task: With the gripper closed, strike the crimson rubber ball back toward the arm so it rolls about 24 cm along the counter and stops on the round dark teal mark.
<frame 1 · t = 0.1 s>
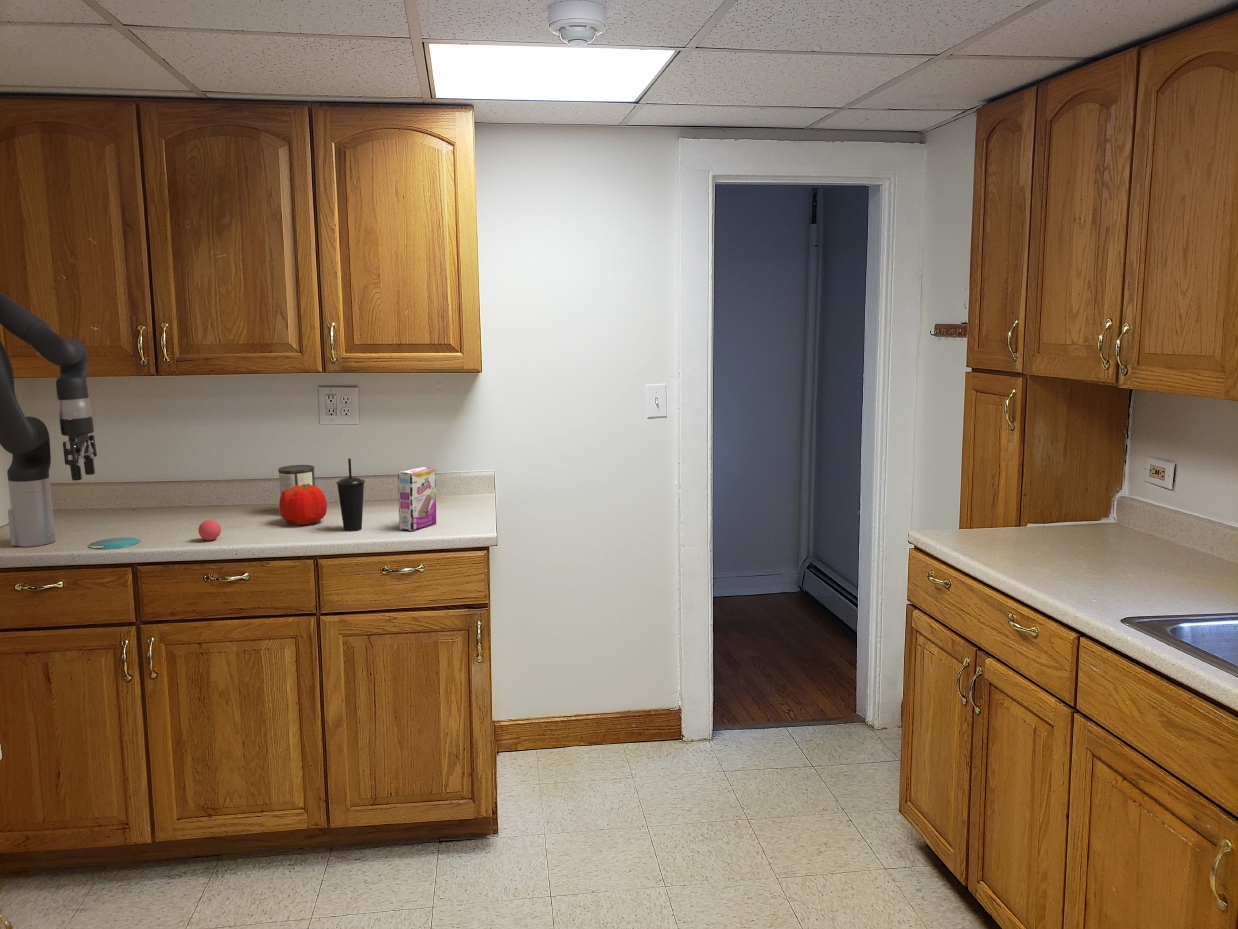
hand: (83, 477, 250), 17 cm above the table, tool pointing down, fingers open, 8 cm apart
drinking cup: (353, 530, 265), on the table
coffee can: (299, 514, 286), on the table
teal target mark: (114, 543, 249), on the table
ball: (209, 530, 252), on the table
tomato: (304, 523, 273), on the table
candy bar box: (418, 527, 267), on the table
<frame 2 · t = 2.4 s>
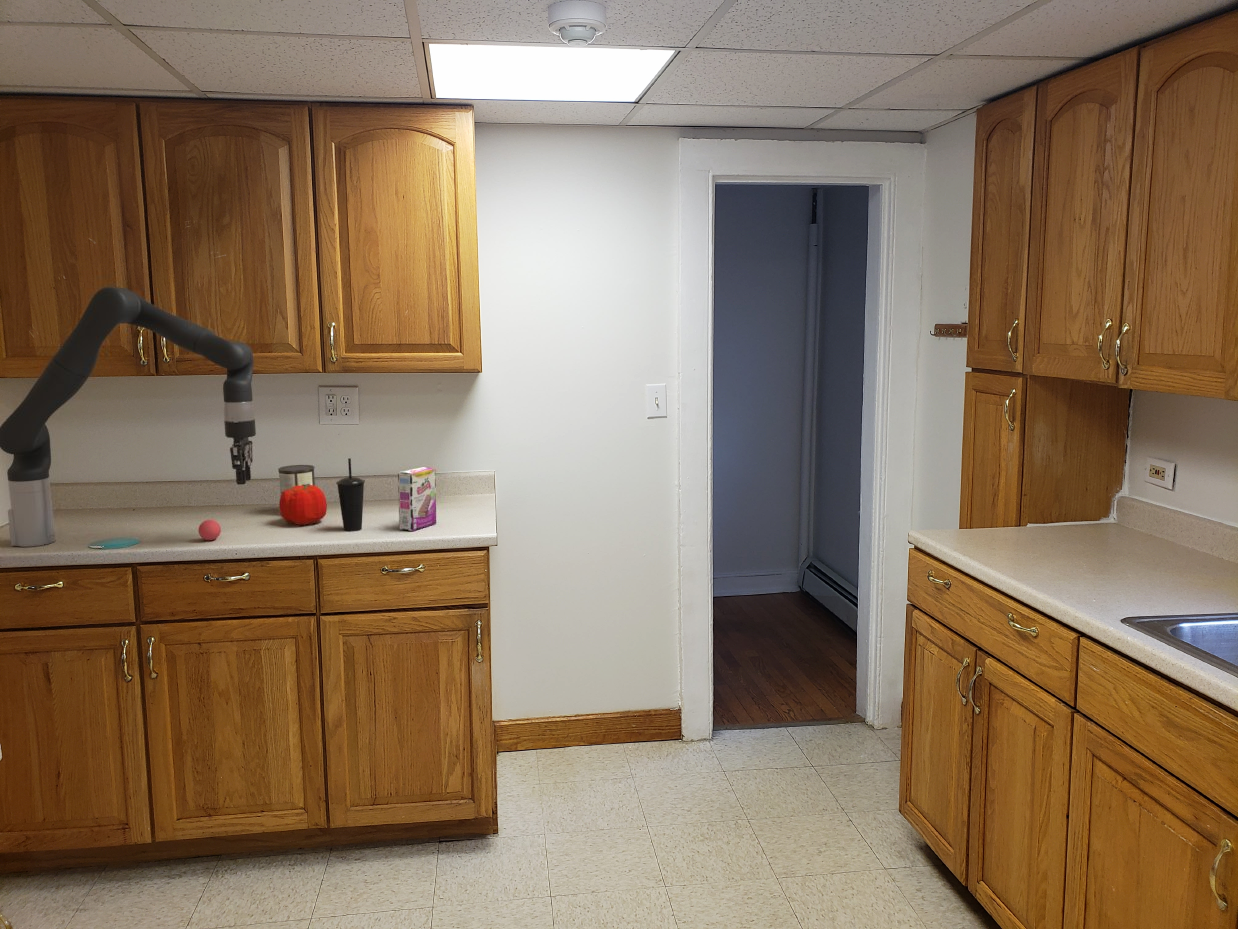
hand: (243, 482, 252), 15 cm above the table, tool pointing down, fingers open, 5 cm apart
nothing on the table moved.
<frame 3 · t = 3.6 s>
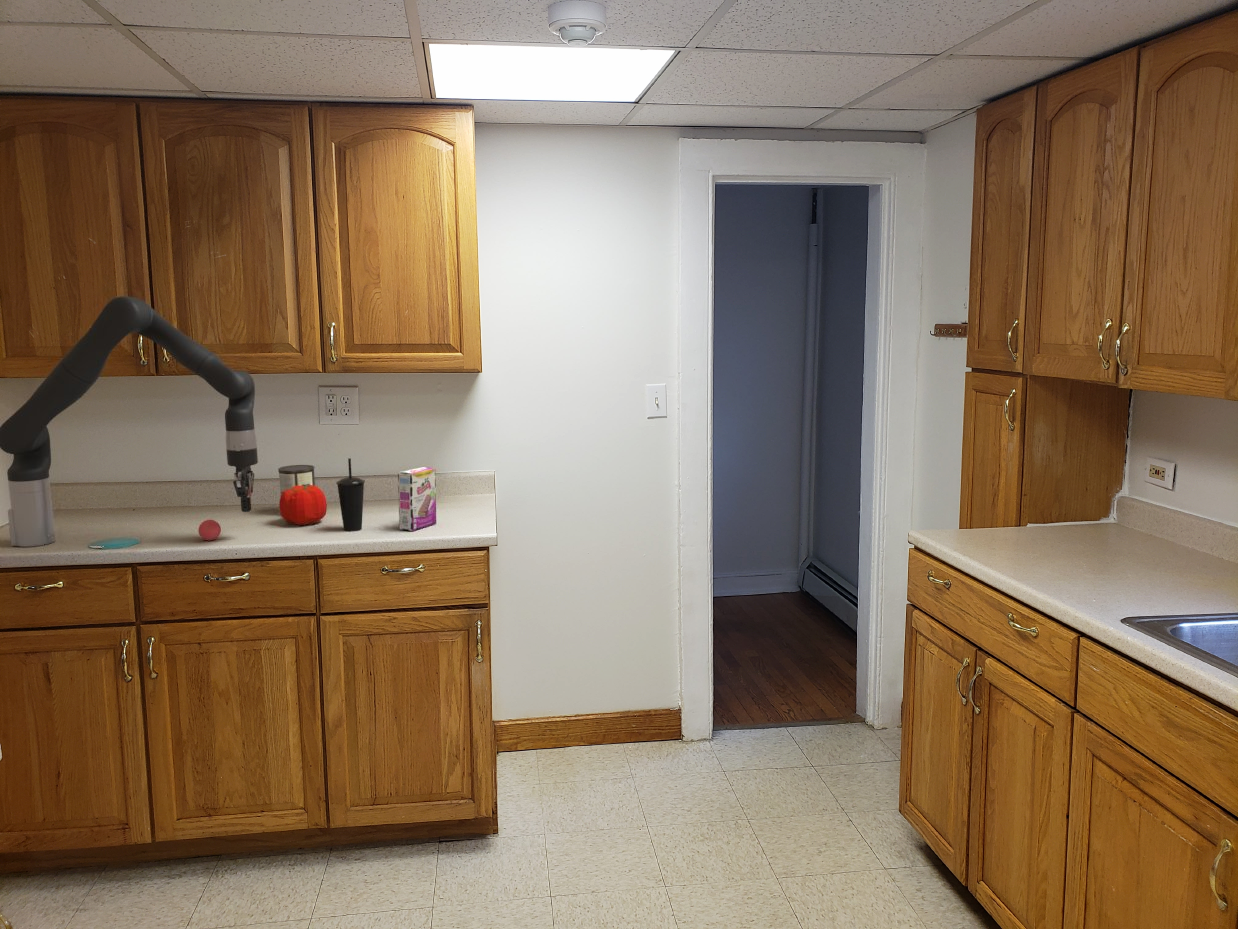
hand: (246, 511, 253), 8 cm above the table, tool pointing down, fingers closed
nothing on the table moved.
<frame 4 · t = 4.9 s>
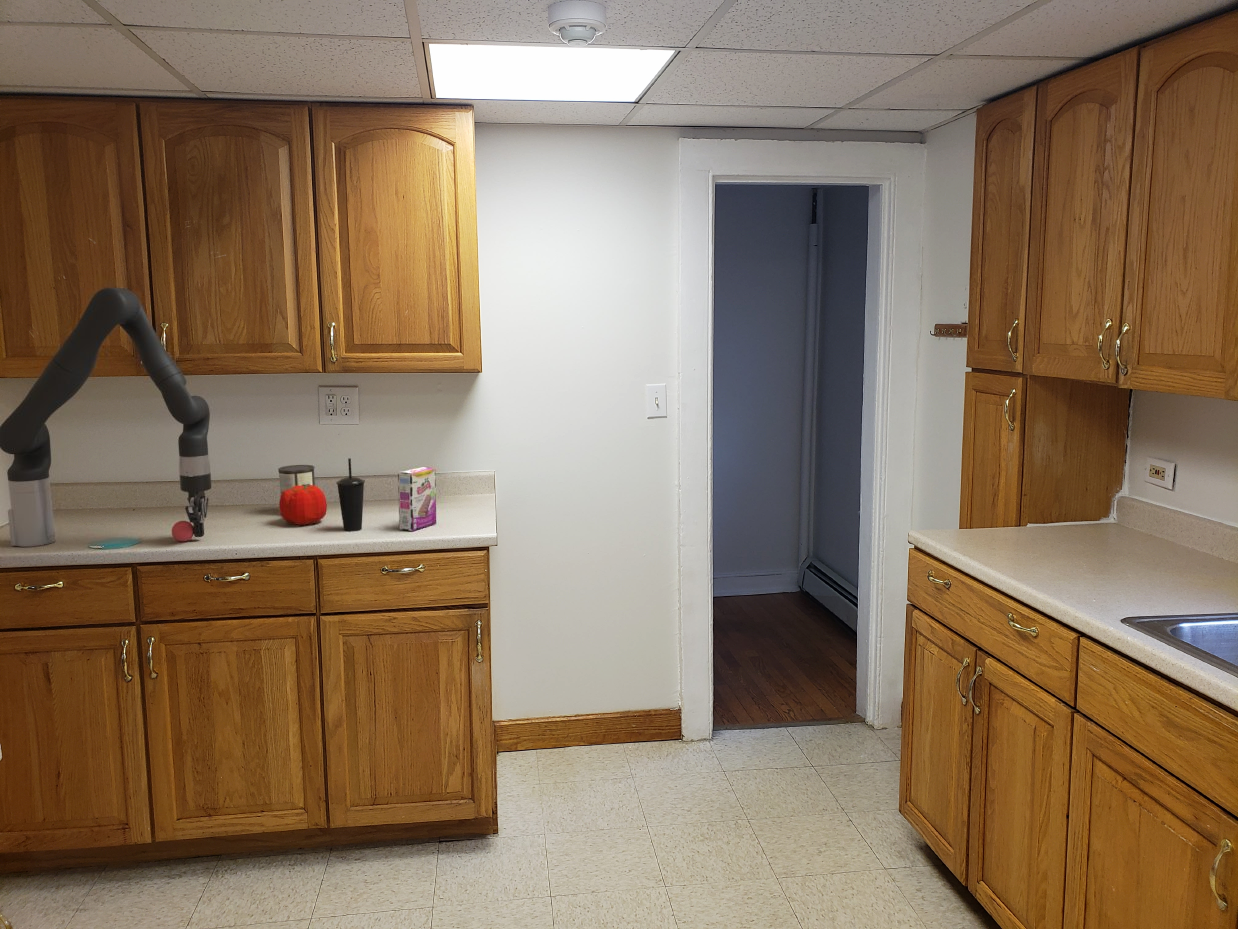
hand: (199, 536, 252), 1 cm above the table, tool pointing down, fingers closed
ball: (183, 531, 251), on the table
everything else where it was.
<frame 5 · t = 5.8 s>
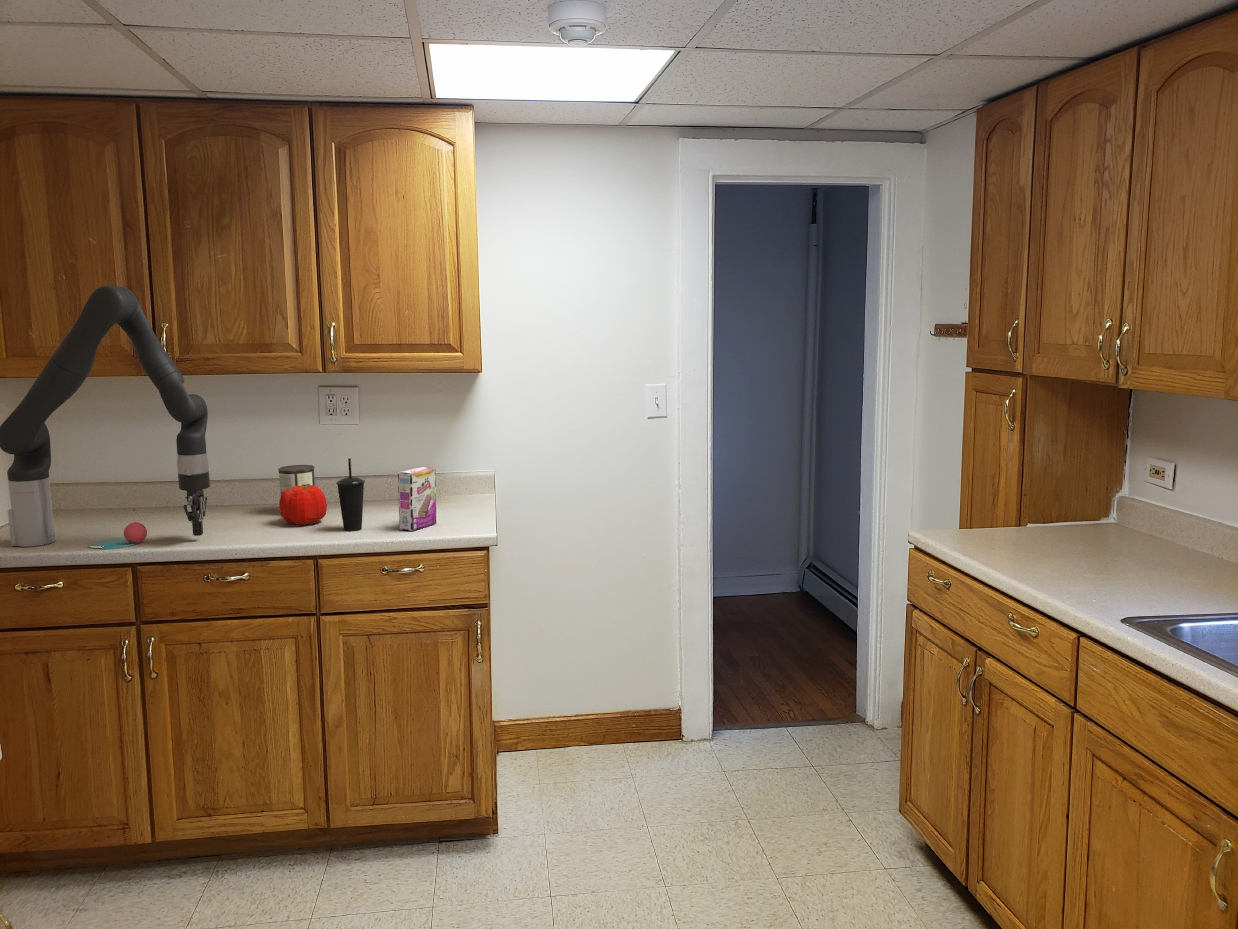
hand: (198, 535, 252), 2 cm above the table, tool pointing down, fingers closed
ball: (135, 532, 249), on the table
everything else where it was.
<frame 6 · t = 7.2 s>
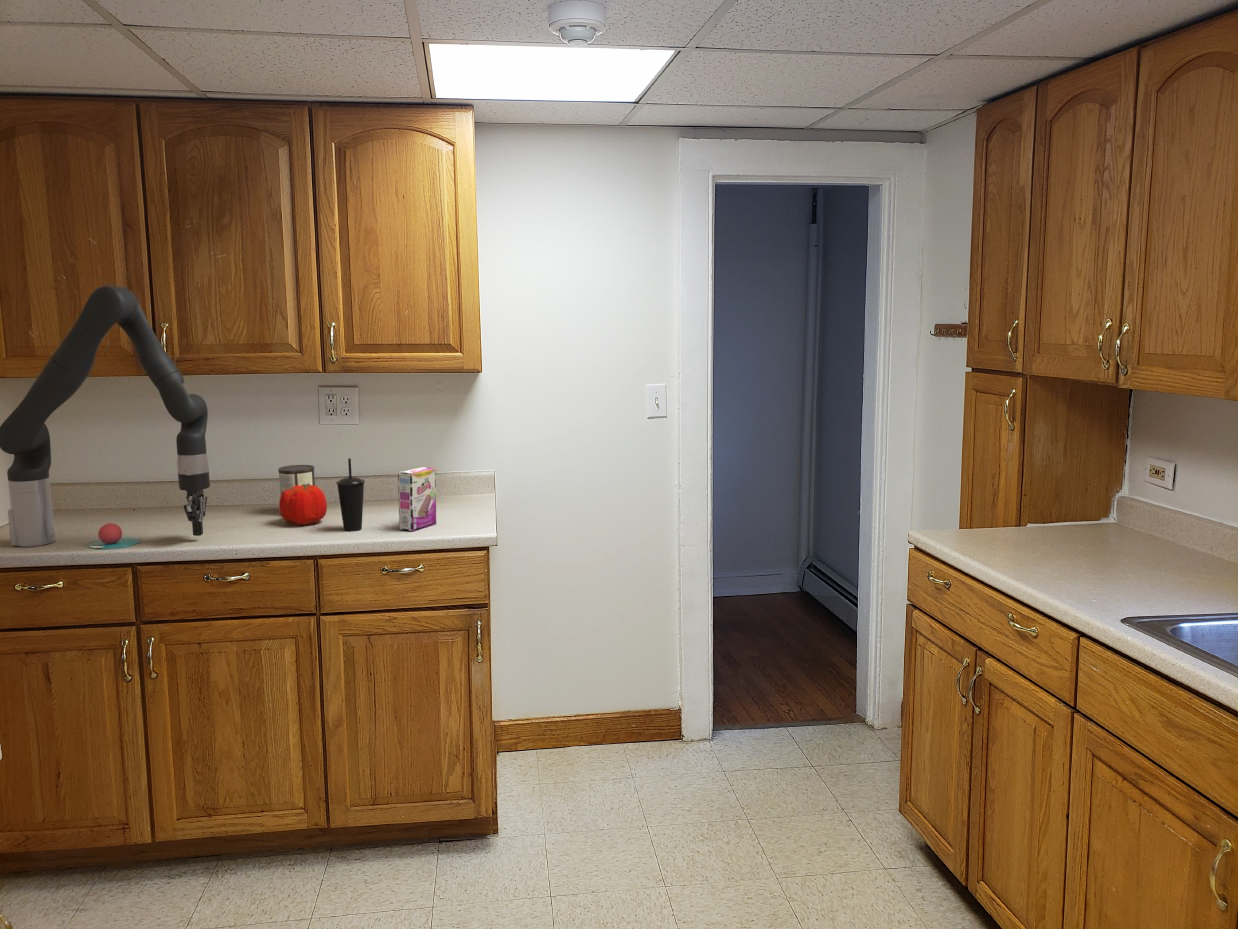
hand: (198, 535, 252), 2 cm above the table, tool pointing down, fingers closed
ball: (110, 533, 248), on the table
everything else where it was.
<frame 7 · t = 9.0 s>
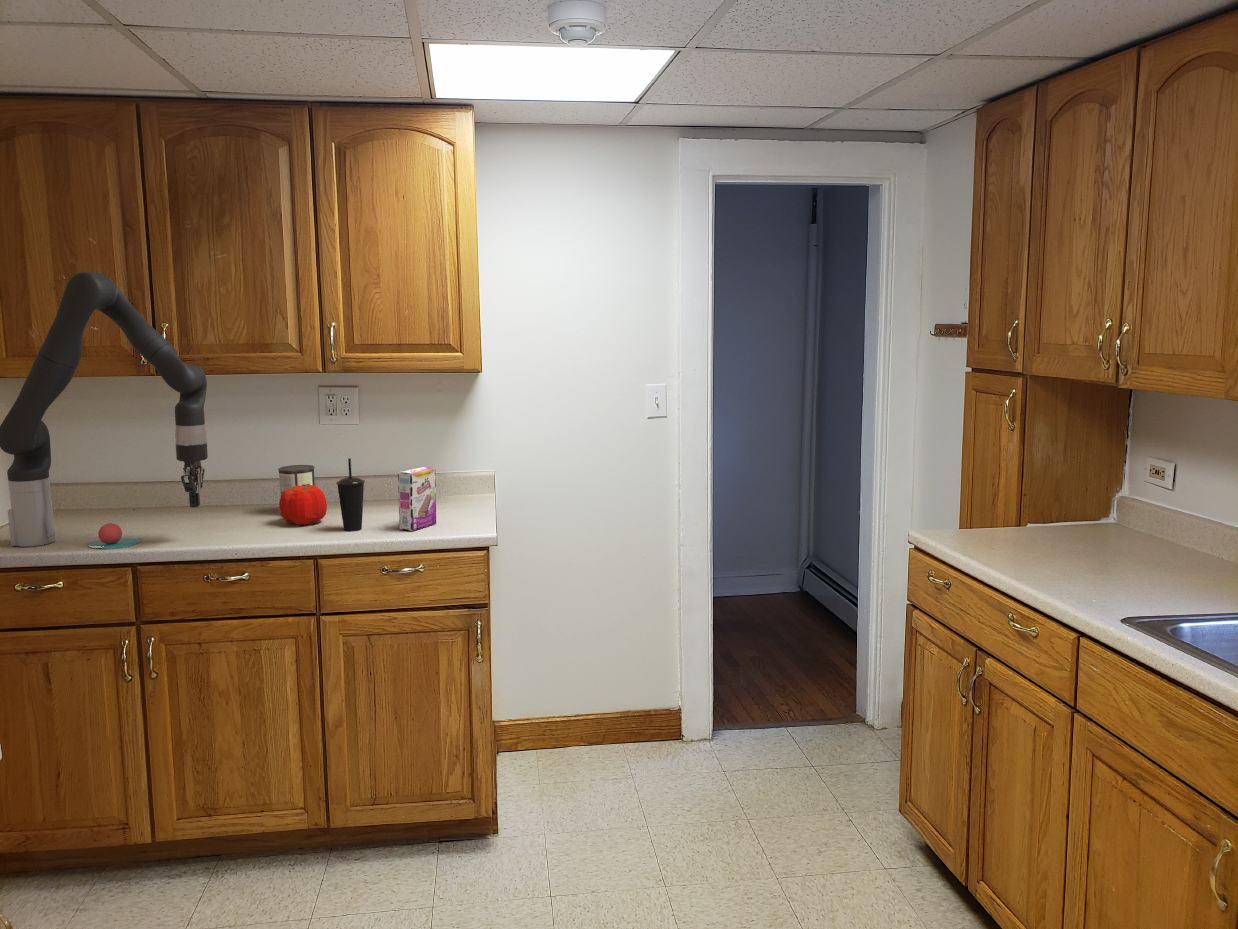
hand: (194, 506, 251), 9 cm above the table, tool pointing down, fingers closed
nothing on the table moved.
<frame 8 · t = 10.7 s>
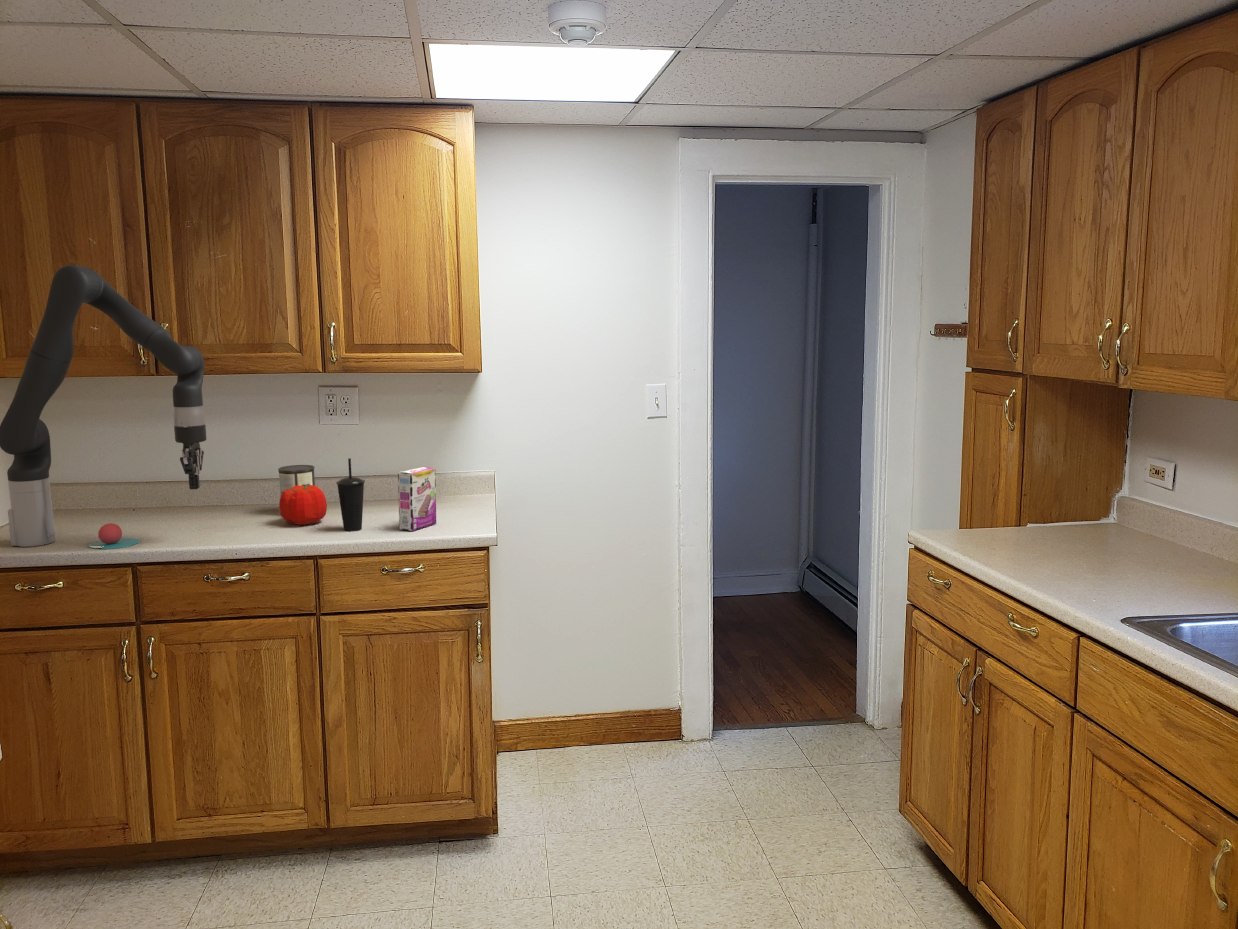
hand: (194, 488, 250), 14 cm above the table, tool pointing down, fingers closed
nothing on the table moved.
at the end: ball 0.8 cm from the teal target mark (horizontally); ball at rest at the end (0.0 cm/s); ball moved 24.7 cm from its start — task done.
